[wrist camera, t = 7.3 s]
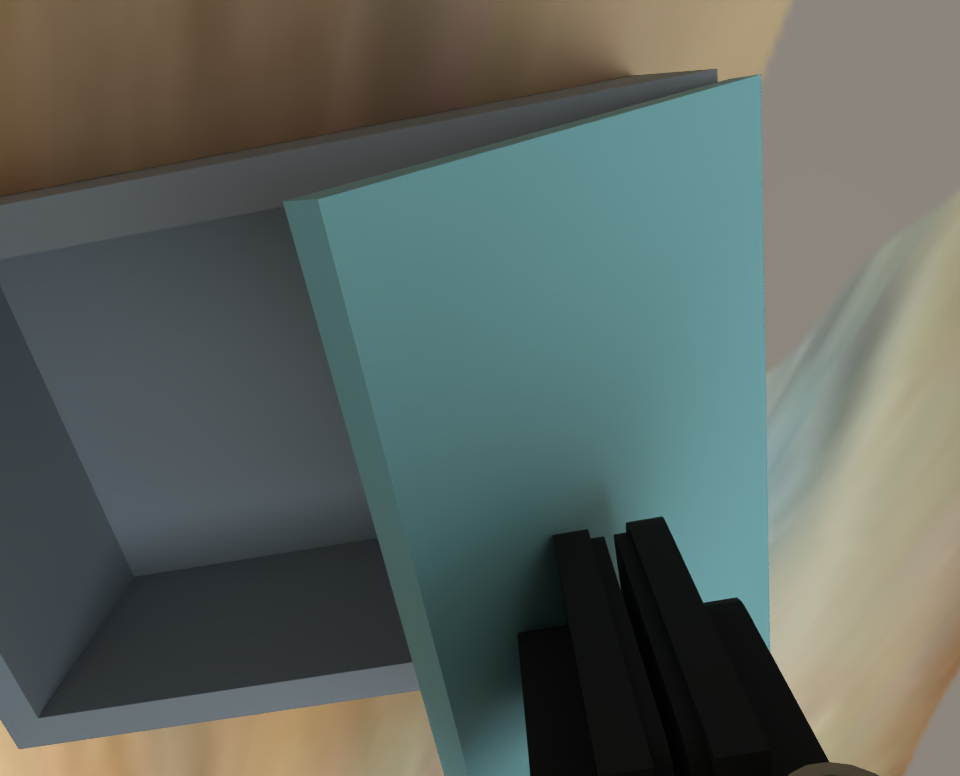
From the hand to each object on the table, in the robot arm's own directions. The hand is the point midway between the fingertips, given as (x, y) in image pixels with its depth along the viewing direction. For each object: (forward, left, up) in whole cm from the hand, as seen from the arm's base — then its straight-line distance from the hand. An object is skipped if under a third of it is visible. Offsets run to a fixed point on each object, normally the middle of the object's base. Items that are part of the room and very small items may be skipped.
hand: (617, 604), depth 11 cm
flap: (0, 0, -2) cm, 2 cm away
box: (0, -6, -13) cm, 14 cm away
